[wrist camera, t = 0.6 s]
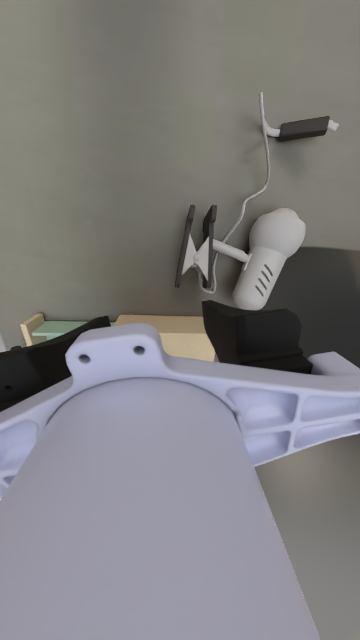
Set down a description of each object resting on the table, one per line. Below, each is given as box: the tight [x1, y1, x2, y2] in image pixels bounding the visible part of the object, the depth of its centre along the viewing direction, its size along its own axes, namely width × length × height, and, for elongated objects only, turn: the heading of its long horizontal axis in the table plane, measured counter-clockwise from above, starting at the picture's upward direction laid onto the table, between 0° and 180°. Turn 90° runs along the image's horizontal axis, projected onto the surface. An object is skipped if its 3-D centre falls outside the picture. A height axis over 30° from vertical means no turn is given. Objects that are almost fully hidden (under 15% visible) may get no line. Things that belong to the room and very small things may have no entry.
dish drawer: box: [114, 315, 215, 362], centre depth 25 cm, size 14×12×5 cm
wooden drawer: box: [11, 314, 115, 350], centre depth 25 cm, size 14×14×3 cm
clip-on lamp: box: [175, 92, 339, 310], centre depth 18 cm, size 12×6×18 cm
